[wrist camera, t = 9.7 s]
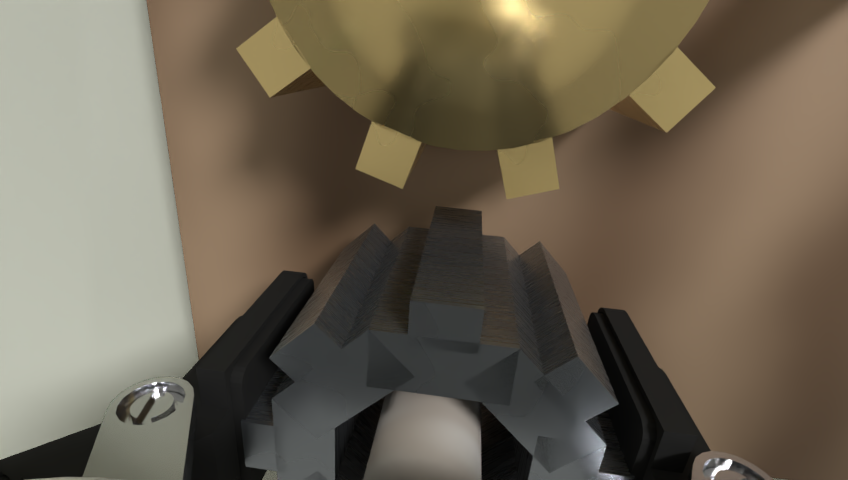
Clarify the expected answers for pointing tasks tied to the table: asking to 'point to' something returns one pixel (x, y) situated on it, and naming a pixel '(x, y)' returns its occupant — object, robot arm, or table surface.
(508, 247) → the steel gear
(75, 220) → the table surface
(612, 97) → the brass gear
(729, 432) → the board
